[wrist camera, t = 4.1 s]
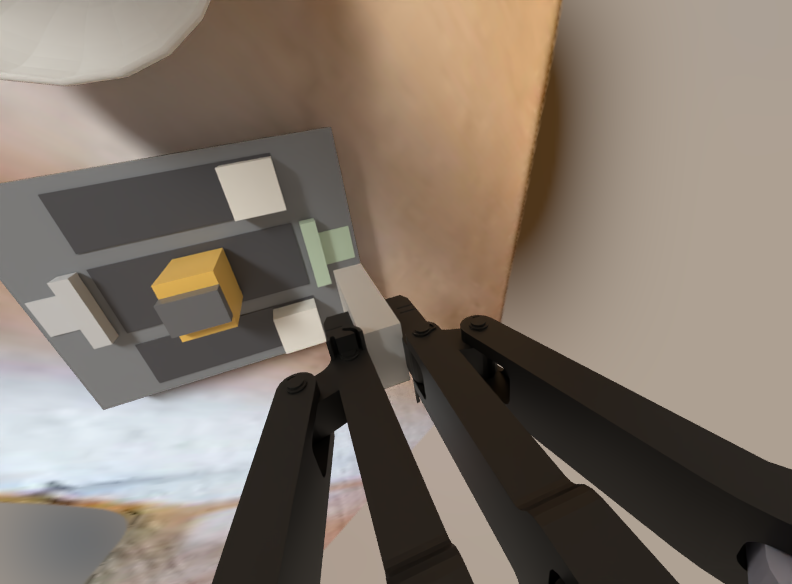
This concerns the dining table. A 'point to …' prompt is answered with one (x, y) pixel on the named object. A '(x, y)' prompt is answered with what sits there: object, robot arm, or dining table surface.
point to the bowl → (90, 37)
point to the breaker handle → (198, 295)
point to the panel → (173, 238)
